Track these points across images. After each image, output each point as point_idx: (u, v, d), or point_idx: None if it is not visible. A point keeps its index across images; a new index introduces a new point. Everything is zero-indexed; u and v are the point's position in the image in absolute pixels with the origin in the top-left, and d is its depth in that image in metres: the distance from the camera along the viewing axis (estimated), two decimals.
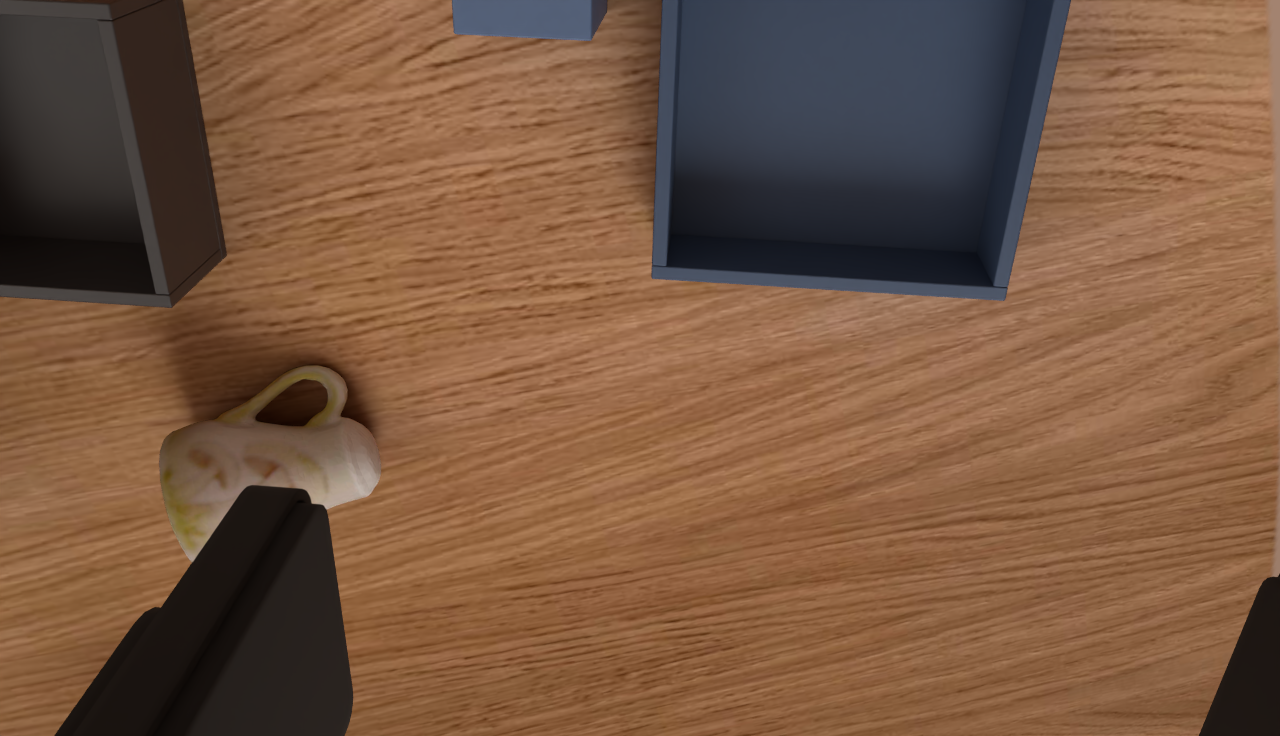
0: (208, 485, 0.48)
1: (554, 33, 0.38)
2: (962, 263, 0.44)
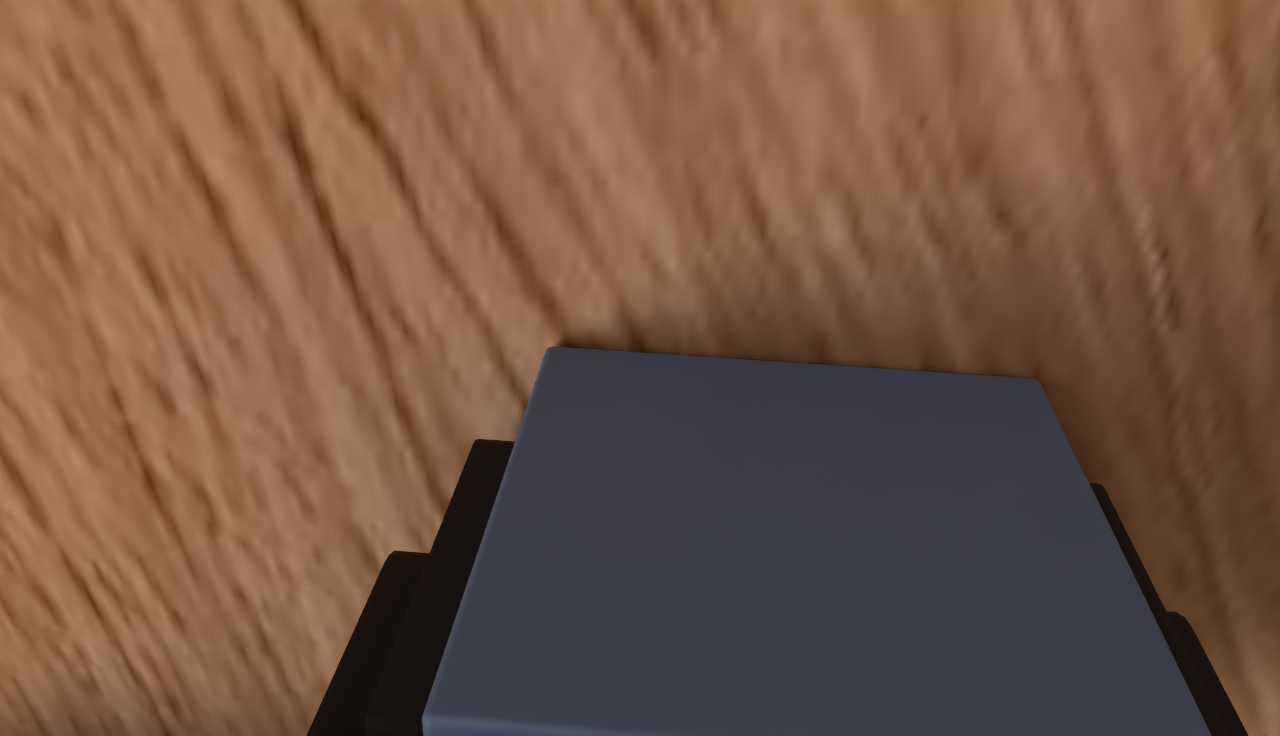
0: None
1: None
2: None
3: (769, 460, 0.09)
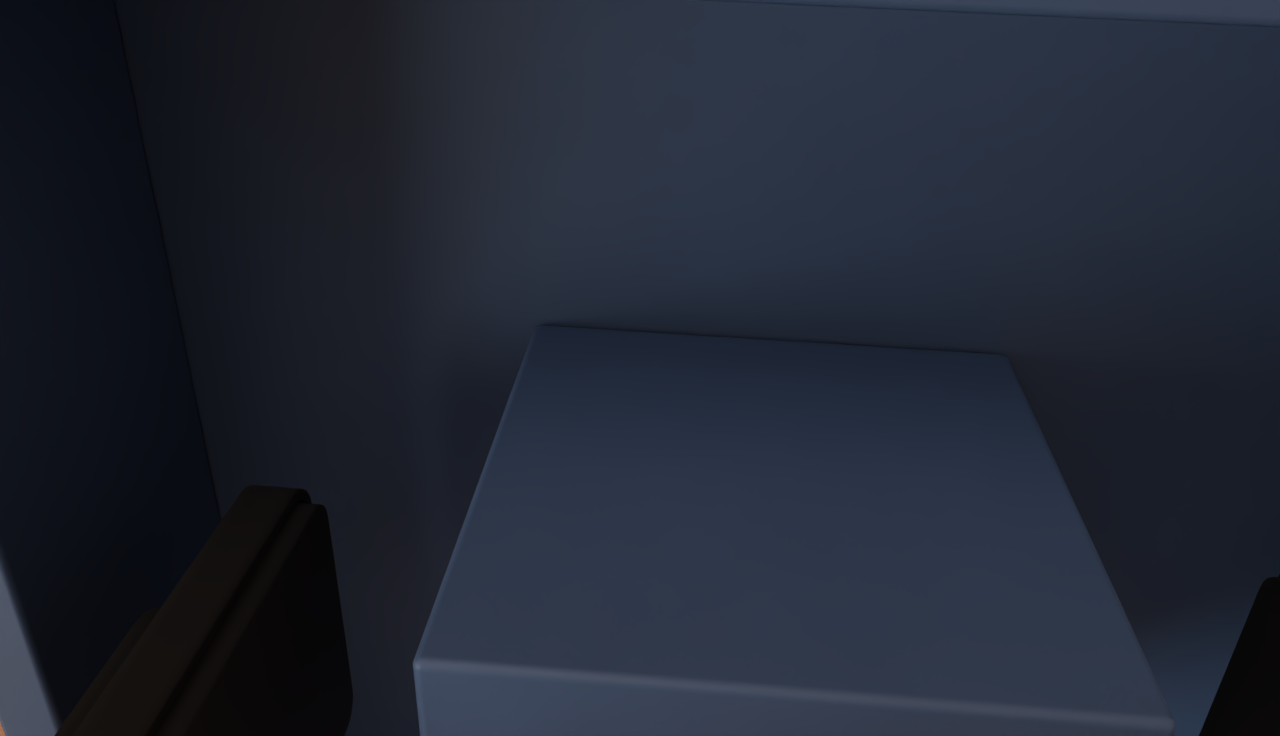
0: None
1: None
2: None
3: (745, 429, 0.10)
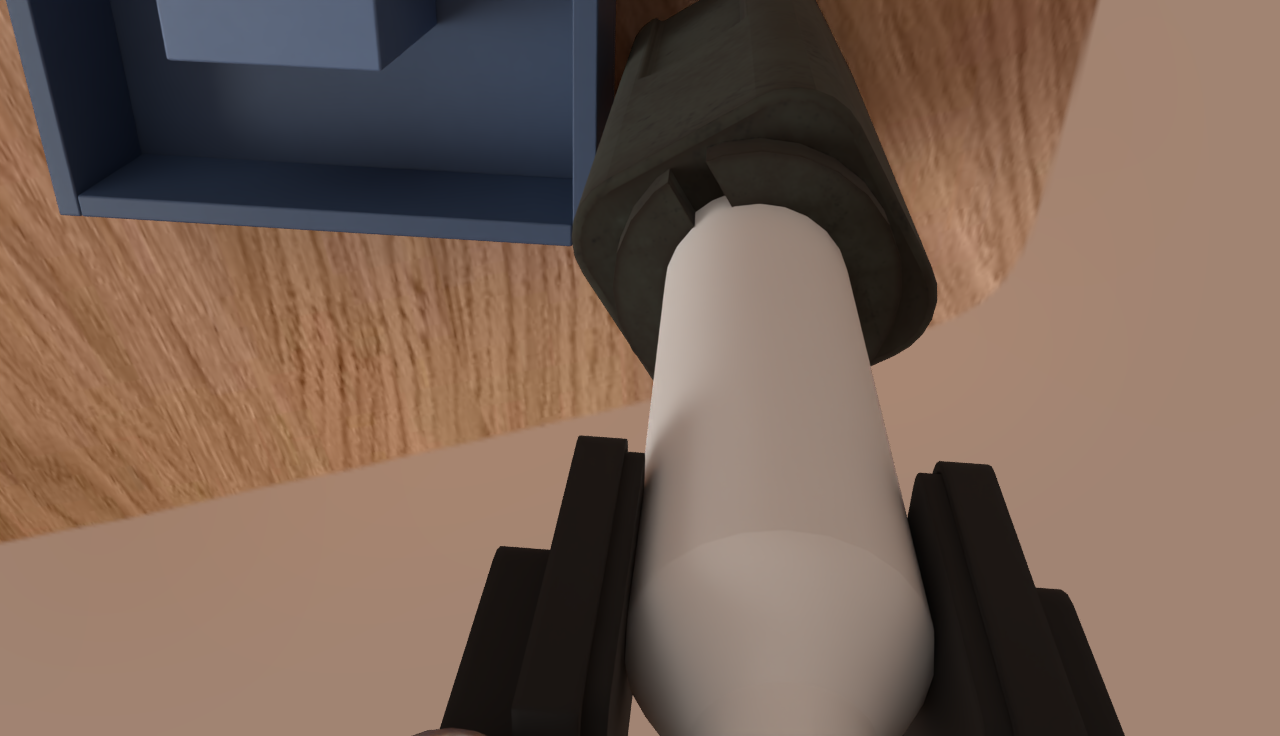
0: None
1: (163, 0, 0.24)
2: (112, 139, 0.29)
3: None
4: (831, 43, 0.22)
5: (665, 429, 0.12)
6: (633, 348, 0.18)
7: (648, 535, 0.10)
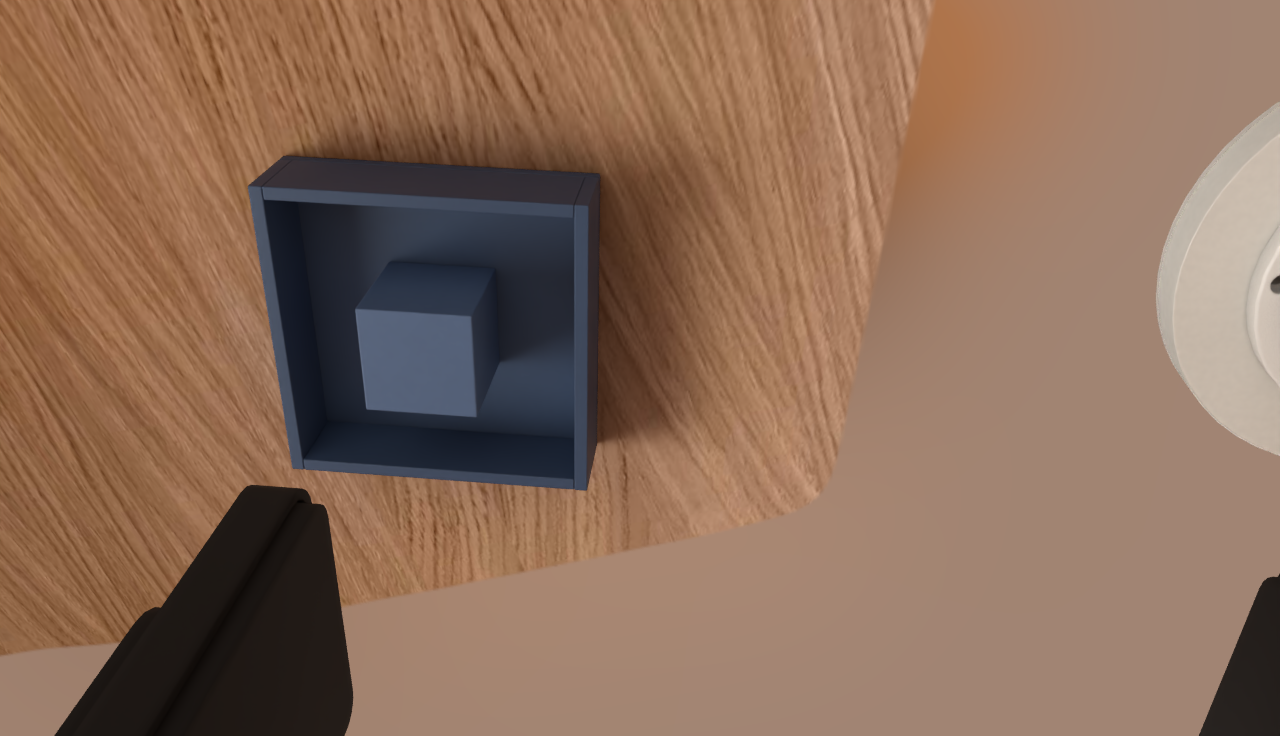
0: None
1: (367, 384, 0.47)
2: (316, 420, 0.52)
3: (426, 280, 0.47)
4: None
5: None
6: None
7: None
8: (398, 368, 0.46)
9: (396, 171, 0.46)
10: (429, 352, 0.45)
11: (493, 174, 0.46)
